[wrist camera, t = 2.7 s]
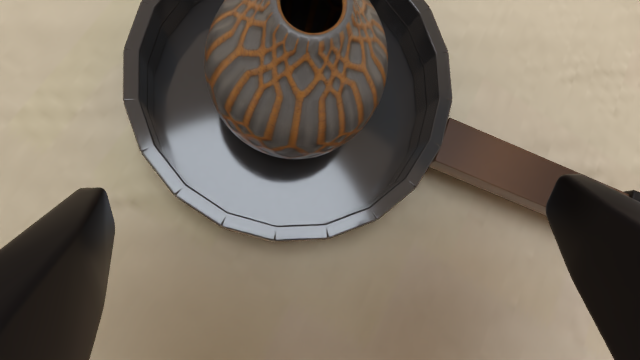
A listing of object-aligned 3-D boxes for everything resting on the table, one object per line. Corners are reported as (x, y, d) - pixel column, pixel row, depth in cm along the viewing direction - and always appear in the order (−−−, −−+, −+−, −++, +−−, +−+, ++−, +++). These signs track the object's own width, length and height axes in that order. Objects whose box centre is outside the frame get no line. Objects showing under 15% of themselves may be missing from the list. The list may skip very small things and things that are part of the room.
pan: (477, 127, 23) (512, 108, 20) (263, 303, 21) (265, 312, 18) (311, -81, 24) (320, -131, 21) (81, 68, 21) (50, 37, 18)
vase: (316, 199, 22) (356, 167, 13) (183, 119, 21) (134, 32, 13) (388, 76, 23) (469, -27, 14) (264, -1, 22) (270, -155, 14)
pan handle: (421, 170, 21) (435, 163, 19) (438, 121, 21) (453, 111, 20) (624, 255, 22) (653, 255, 20) (637, 206, 22) (667, 203, 21)
